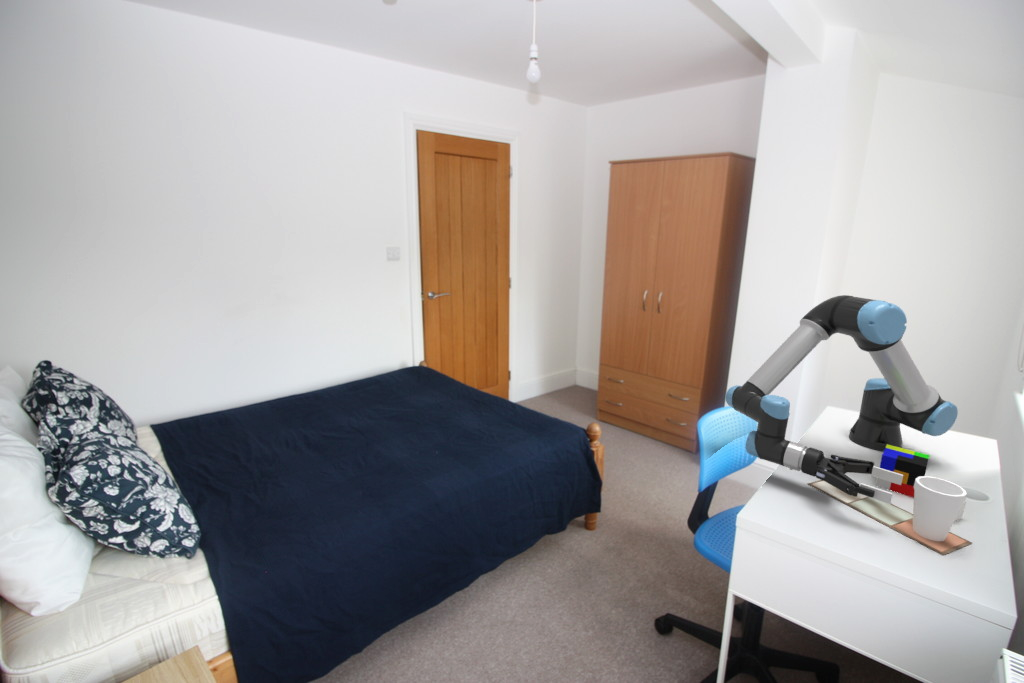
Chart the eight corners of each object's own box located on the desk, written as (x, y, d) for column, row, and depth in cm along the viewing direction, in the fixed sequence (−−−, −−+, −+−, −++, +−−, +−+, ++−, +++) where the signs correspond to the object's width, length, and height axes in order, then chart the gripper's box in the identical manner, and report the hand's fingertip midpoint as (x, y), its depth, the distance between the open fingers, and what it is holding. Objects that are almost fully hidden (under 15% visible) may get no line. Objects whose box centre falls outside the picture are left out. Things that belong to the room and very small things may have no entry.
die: (939, 508, 133) (944, 490, 132) (961, 518, 129) (966, 499, 127) (928, 512, 131) (933, 493, 130) (950, 523, 127) (955, 503, 125)
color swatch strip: (834, 476, 149) (834, 476, 149) (972, 543, 118) (972, 542, 118) (807, 484, 144) (807, 483, 144) (943, 555, 114) (943, 554, 114)
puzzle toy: (875, 486, 144) (882, 454, 142) (880, 474, 151) (886, 444, 149) (918, 499, 138) (926, 466, 135) (922, 486, 145) (929, 455, 142)
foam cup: (902, 517, 128) (913, 472, 125) (948, 529, 123) (960, 482, 120) (908, 537, 120) (919, 489, 117) (957, 550, 115) (971, 500, 112)
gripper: (816, 458, 149) (903, 485, 134) (787, 486, 132) (883, 521, 117) (820, 435, 147) (909, 460, 132) (791, 461, 131) (889, 493, 116)
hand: (897, 489), depth 125 cm, fingers open, 13 cm apart
